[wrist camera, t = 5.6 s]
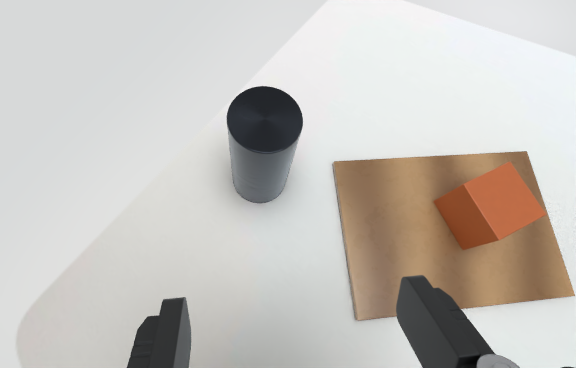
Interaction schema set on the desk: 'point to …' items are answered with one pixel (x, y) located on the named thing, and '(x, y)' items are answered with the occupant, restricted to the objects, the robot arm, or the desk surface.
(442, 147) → the desk surface
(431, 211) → the cork mat
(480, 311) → the desk surface
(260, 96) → the charcoal tin
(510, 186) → the orange block
